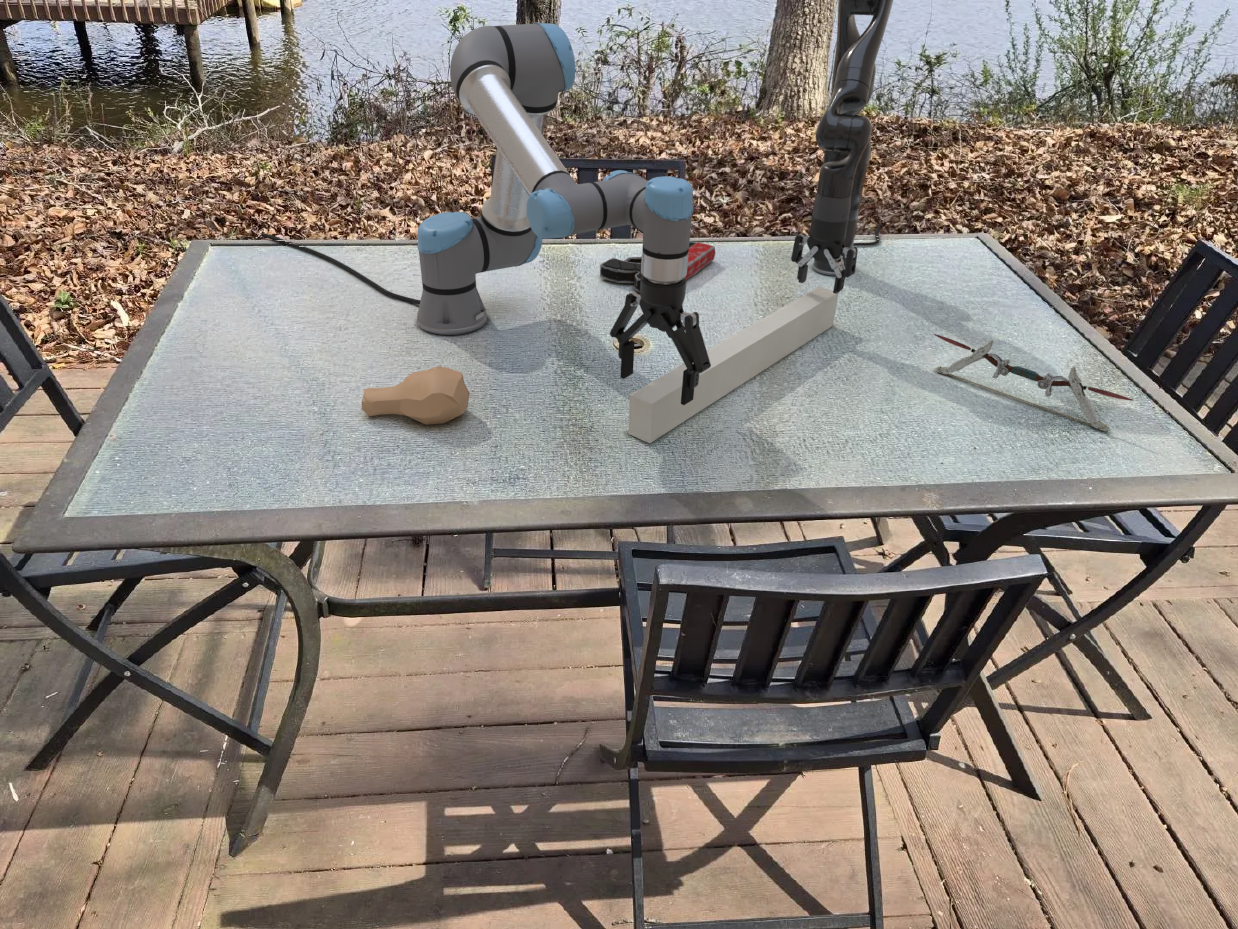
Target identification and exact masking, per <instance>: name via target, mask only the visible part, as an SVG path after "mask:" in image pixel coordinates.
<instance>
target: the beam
mask: <svg viewBox="0 0 1238 929" xmlns="http://www.w3.org/2000/svg"><path fill="white" fill-rule="evenodd" d="M839 294H840V292H839V293H837V294H835V293H833V289H829V288H825V287H822V286H817V287H815V288H814V289H812V290H811V291H809V292H807V293H804V294H803V295H801V296H800V297H798V298H797V299H794V300H792V301H791V302H789V303H787V304H785V305H784V306H782V307H781V308H780V307H779V309H777V310H775V311H773V312H772V313H770V314H768V315H767V316H764V317H763V318H761V319H760V320H757V321H756V322H754V323H752V324H750V326H746V328H743V329H742V330H740V331H739V332H737V333H735V334H733V335H731V336H730V337H728V338H726V339H724V340H723V341H721V342H718V343H717V344H716V345H714V346H712V347H710V348H709V349H706V350H707V354H708V357H709V360H710V364H711V367H710V368H708V369H707V370H705V371H704V372H702V373H699V383H698V386H696V387H695V388H694V397H693V400H692V401H690V402H689V403H687V404H686V405H682V404H681V394H682V382H683V371H684V370H686V369H687V367H686V365H685V364H684V363H682V364H681V365H679V366H677V367H675V368H674V369H671V370H670V371H667V373H664V374H663V375H661V376H659V377H658V378H656V379H654V380H653V381H651V382H648V383H647V384H645V385H643V386H642V387H640V388H638V389H637V390H635V391H634V392H631V393H629V405H628V406H629V408H628V431H627V432H628V433H627V434H628V435H630V436H632V437H635V438H636V439H639V440H641V441H643V442H645V443H648V444H652V443H653V442H655V441H657V440H658V439H659V438H661V437H662V436H664V435H666V434H667V433H669V432H670V431H672V430H674V429H675V428H677V427H678V426H680V425H682V424H683V423H684V422H685V421H686V422H687V420H689V419H690V418H692V417H693V416H695V415H696V414H699V413H700V412H701V411H704V409H706V408H708V407H709V406H711V405H712V404H714V403H715V402H717V401H718V400H720V399H721V398H723V397H725V396H726V395H728V394H729V393H731V392H733V391H734V390H735V389H737V388H739V387H740V386H742V385H743V384H745V383H746V382H748V381H749V380H751V379H752V378H754V377H756V376H757V375H759V374H760V373H762V372H764V371H765V370H767V369H768V368H770V367H772V366H773V365H775V364H776V363H777V362H779V361H781V360H782V359H784V358H785V357H787V356H789V355H790V354H792V353H793V352H794V351H796V350H798V349H799V348H801V347H803V346H804V345H805V344H807V343H809V342H810V341H812V340H813V339H815V338H817V337H818V336H820V335H821V334H823V333H825V331H826V332H827V330H829V329H830V328H832V327H833V326H834V322H835V316H836V312H837V311H836V310H837V304H838V299H839Z"/></svg>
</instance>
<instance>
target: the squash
mask: <svg viewBox="0 0 1238 929" xmlns="http://www.w3.org/2000/svg"><path fill="white" fill-rule="evenodd" d="M470 395H471V393H470V391H469V389H468V387H467V385H466V383H465V379H464V375H463V372H460V371H458V370H454V369H452V368H448V367H444V366H439V365H437V366H435V367H432V368H431V367H430V368H428V369H424V370H419V371H413V372H411V373H410V374H409V375H408V376H406V377H405V378H404V379H403V381H401V382H399V383H398V384H396V385H394V386H388V387H367V388H365V389H363V395H362V398H361V410H362V411H363V412H364V413H365V414H366V415H367V416H368V417H372V416H379V415H380V416H381V415H400V416H405V417H408V418H411V419H412V420H414V421H416V422H419V423H421V424H423V425H425V426H427V425H442V424H446V423H447V422H450V421H452V420H453V419H455V418H457V417H460V416H462V415H463V414H464V413H465V412H466V410H467V409H468V408H469V400H470Z"/></svg>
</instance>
